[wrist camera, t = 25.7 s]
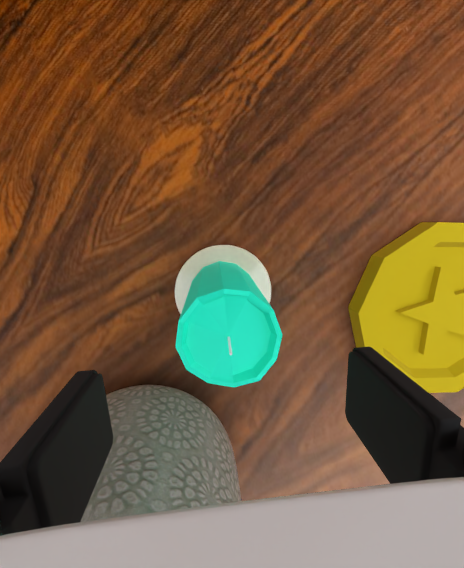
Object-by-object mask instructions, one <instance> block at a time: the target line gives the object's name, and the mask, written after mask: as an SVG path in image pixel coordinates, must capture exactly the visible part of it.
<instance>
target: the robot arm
mask: <svg viewBox="0 0 464 568" xmlns="http://www.w3.org/2000/svg"><path fill="white" fill-rule="evenodd" d="M345 413H346V418H347V420H348V422H349V424H350V425H351V427H352V428H353V429H354V431H355V432H356V434H357V435H358V437H359V438H360V440H361V441H362V443H363V444H364V446H365V447H366V448H367V450H368V451H369V453H370V454H371V456H372V457H373V459H374V460H375V462H376V463H377V465H378V466H379V467H380V469H381V470H382V472H383V473H384V475H385V476H386V478H387V479H388V481H389V482H390V484H384V485H376V486H367V487H358V488H350V489H341V490H332V491H324V492H315V493H307V494H298V495H290V496H282V497H274V498H265V499H257V500H249V501H241V502H233V503H225V504H217V505H209V506H201V507H193V508H185V509H177V510H170V511H162V512H154V513H146V514H139V515H131V516H123V517H115V518H108V519H100V520H93V521H86V522H80V521H81V519H82V516H83V514H84V512H85V509H86V507H87V505H88V502H89V500H90V497H91V495H92V493H93V490H94V488H95V486H96V483H97V481H98V478H99V476H100V474H101V471H102V469H103V466H104V464H105V462H106V459H107V457H108V455H109V452H110V450H111V447H112V444H113V431H112V426H111V420H110V415H109V410H108V404H107V399H106V393H105V388H104V382H103V377H102V375H101V374H97V372H96V371H95V370H90V371H79V372H77V373H76V374H75V375H74V376H73V377H72V379H71V380H70V381H69V382H68V383H67V384H66V386H65V387H64V388H63V389H62V390H61V392H60V393H59V394H58V395H57V396H56V397H55V399H54V400H53V401H52V402H51V403H50V404H49V406H48V407H47V408H46V409H45V410H44V412H43V413H42V414H41V415H40V416H39V417H38V419H37V420H36V421H35V422H34V423H33V425H32V426H31V427H30V428H29V429H28V430H27V432H26V433H25V434H24V435H23V436H22V438H21V439H20V440H19V441H18V442H17V443H16V445H15V446H14V447H13V448H12V449H11V450H10V452H9V453H8V454H7V455H6V456H5V458H4V459H3V460H2V461H1V462H0V568H464V428H463V427H462V426H461V425H460V422H461V418H459V417H458V416H457V415H456V414H454V413H453V412H452V411H451V410H449V409H448V408H447V407H446V406H444V405H443V404H442V403H441V402H439V401H438V400H437V399H436V398H434V397H433V396H432V395H431V394H429V393H428V392H427V391H426V390H424V389H423V388H422V387H421V386H419V385H418V384H417V383H415V382H414V381H413V380H412V379H410V378H409V377H408V376H407V375H405V374H404V373H403V372H402V371H400V370H399V369H398V368H397V367H395V366H394V365H393V364H392V363H390V362H389V361H388V360H387V359H385V358H384V357H383V356H382V355H380V354H379V353H378V352H377V351H375V350H374V349H373V348H372V347H358V348H354V349H353V352H350V353H349V359H348V375H347V392H346V409H345Z"/></svg>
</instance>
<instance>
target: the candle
mask: <svg viewBox="0 0 464 568" xmlns="http://www.w3.org/2000/svg"><path fill="white" fill-rule="evenodd" d="M281 339H282V332H281V329H280V327H279V324H278V321H277V318H276V316H275V313H274V310H273V309H272V307H271V306H270V304H269V303H268V301H267V300H266V298H265V297H264V295H263V294H262V293H261V291H260V290H259V288H258V287H257V285H256V284H255V282H254V281H253V279H252V278H251V276H250V275H249V274H248V273H247V272H246V271H244V270H243V269H242V268H241V267H240V266H238V265H237V264H235V263H229V262H222V261H218V262H215V263H213V264H210V265H207V266H205V267H203V268H202V269H201V270H200V272H199V273H198V274H197V275H196V277H195V278H194V279H193V280H192V283H191V286H190V289H189V292H188V295H187V298H186V301H185V304H184V307H183V310H182V313H181V316H180V318H179V322H178V330H177V338H176V346H175V347H176V349H177V351H178V353H179V355H180V358H181V360H182V362H183V364H184V366H185V368H186V370H187V371H189V372H191V373H192V374H194V375H196V376H197V377H199V378H200V379H202V380H204V381H205V382H207V383H210V384H216V385H222V386H228V387H238V386H242V385H245V384H249V383H253V382H257V381H260V380H261V379H262V377H263V376H264V375H265V374H266V372H267V371H268V370H269V369H270V367H271V366H272V365H273V364H274V362H275V361H276V360H277V357H278V352H279V348H280V344H281Z"/></svg>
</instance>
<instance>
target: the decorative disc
mask: <svg viewBox="0 0 464 568" xmlns="http://www.w3.org/2000/svg"><path fill="white" fill-rule="evenodd" d="M348 309H349V314H350V319H351V324H352V329H353V334H354V339H355V344H356V348H358V347H372V348H373V349H374V350H375V351H377V352H378V353H379V354H380V355H382V356H383V357H384V358H385V359H387V360H388V361H389V362H390V363H392V364H393V365H394V366H395V367H397V368H398V369H399V370H400V371H402V372H403V373H404V374H405V375H407V376H408V377H409V378H410V379H412V380H413V381H414V382H415V383H417V384H418V385H419V386H421V387H422V388H423V389H424V390H426V391H427V392H428V393H437V392H458V391H459V390H461V389H463V388H464V223H448V222H421V223H419V224H418V225H416V226H415V227H413V228H412V229H410V230H409V231H407V232H406V233H404V234H403V235H401V236H400V237H398V238H397V239H395V240H394V241H392V242H391V243H389V244H388V245H386V246H385V247H383V248H382V249H380V250H379V251H377V252H376V253H374V254H373V255H371V258H370V260H369V262H368V264H367V266H366V269H365V271H364V273H363V275H362V277H361V280H360V282H359V284H358V286H357V288H356V291H355V293H354V295H353V297H352V299H351V302H350V304H349V306H348Z"/></svg>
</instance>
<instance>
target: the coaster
mask: <svg viewBox="0 0 464 568" xmlns="http://www.w3.org/2000/svg"><path fill="white" fill-rule="evenodd" d="M218 261H222V262H229V263H235V264H237V265H238V266H240V267H241V268H242V269H243V270H244V271H246V272H247V273H248V274H249V275H250V276H251V278H252V279H253V281H254V282H255V284H256V285H257V287H258V288H259V290H260V291H261V293H262V294H263V295H264V297H265V298H266V300H267V301H268V303H269V304H270V299H271V283H270V278H269V276H268V273H267V271H266V269H265V267H264V266H263V264H262V263H261V262H260V261H259V260H258V259H257V258H256V257H255V256H254V255H253V254H251V253H250V252H248V251H247V250H245V249H243V248H240V247H237V246H233V245H214V246H210V247H207V248H204V249H202V250H200V251H198V252H196V253H195V254H194V255H192V256H191V257H190V258H189V259H188V260H187V261H186V262H185V264H184V265H183V266H182V268H181V270H180V272H179V274H178V276H177V279H176V283H175V301H176V305H177V308H178V310H179V312H180V314H181V313H182V310H183V307H184V304H185V301H186V298H187V295H188V292H189V289H190V286H191V283H192V280H193V279H194V278H195V277H196V275H197V274H198V273H199V272H200V270H201V269H202V268H203V267H205V266H207V265H210V264H213V263H215V262H218Z"/></svg>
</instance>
